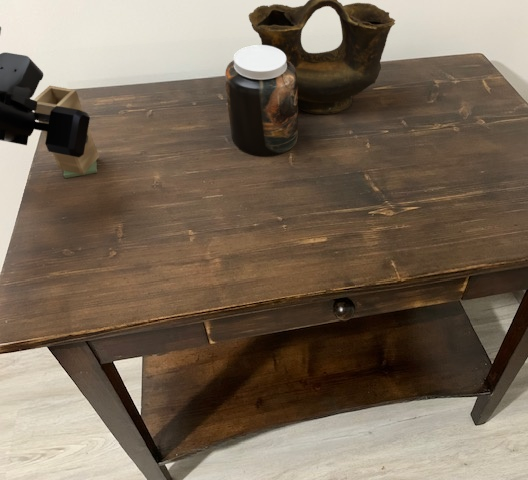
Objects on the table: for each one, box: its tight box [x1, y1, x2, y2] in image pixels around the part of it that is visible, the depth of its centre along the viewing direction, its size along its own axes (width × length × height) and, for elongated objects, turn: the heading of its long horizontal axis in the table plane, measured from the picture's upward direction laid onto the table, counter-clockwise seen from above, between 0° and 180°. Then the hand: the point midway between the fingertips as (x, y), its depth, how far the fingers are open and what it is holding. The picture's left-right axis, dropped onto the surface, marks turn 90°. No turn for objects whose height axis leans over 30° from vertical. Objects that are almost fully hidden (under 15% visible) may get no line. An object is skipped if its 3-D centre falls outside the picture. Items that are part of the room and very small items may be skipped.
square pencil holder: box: [33, 85, 100, 174], centre depth 82 cm, size 5×4×12 cm
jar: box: [224, 44, 299, 157], centre depth 89 cm, size 12×12×15 cm
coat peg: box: [63, 160, 98, 179], centre depth 86 cm, size 5×5×4 cm
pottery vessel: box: [248, 0, 396, 115], centre depth 95 cm, size 25×11×20 cm, turn 98°
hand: (59, 134), depth 81 cm, fingers open, 9 cm apart
